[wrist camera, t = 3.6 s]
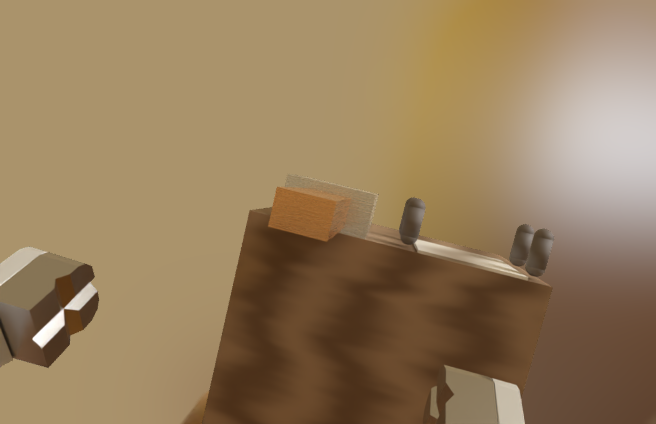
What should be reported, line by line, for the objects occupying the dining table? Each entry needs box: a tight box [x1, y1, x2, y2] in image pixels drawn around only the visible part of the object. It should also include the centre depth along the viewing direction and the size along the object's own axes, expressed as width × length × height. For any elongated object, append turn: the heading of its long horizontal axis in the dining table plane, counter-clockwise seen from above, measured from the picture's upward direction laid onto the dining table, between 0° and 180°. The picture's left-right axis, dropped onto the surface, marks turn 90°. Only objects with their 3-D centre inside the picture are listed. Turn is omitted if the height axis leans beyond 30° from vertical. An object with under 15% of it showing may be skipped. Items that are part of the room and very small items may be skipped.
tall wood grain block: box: [202, 198, 554, 424], centre depth 37 cm, size 20×14×29 cm
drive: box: [268, 174, 378, 242], centre depth 29 cm, size 6×15×3 cm, turn 172°
